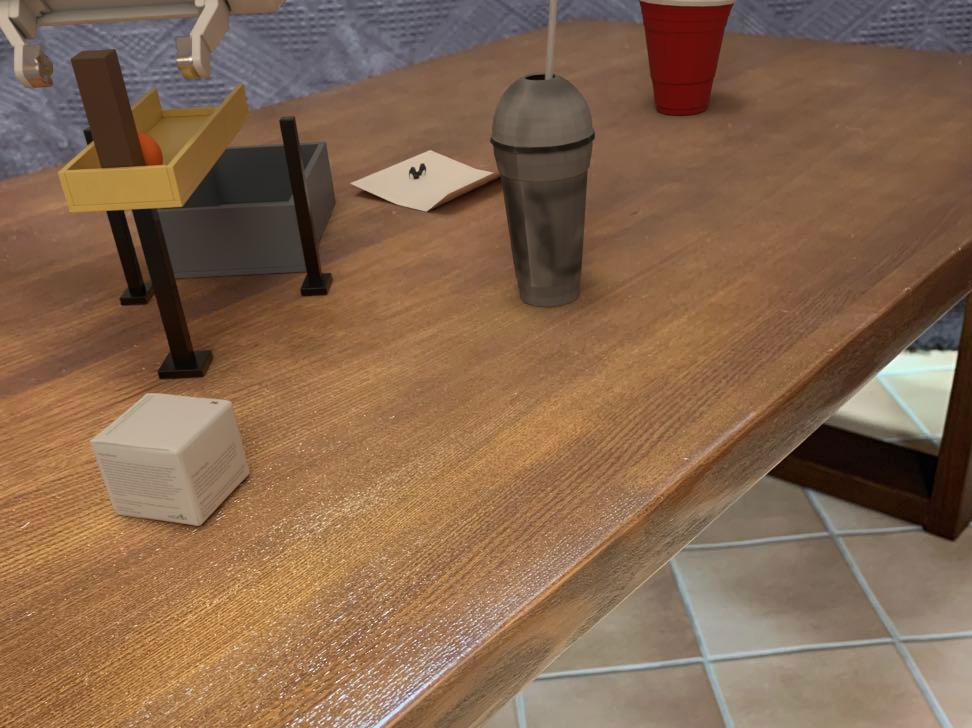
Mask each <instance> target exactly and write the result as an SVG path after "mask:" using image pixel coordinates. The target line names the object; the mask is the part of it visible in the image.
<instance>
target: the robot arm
mask: <svg viewBox="0 0 972 728" xmlns="http://www.w3.org/2000/svg"><path fill="white" fill-rule="evenodd" d="M286 1H287V0H0V30H1V31H2V32H3V34H4V35H5V37H6V40H8V42H9V44H10V45H11V47H12V48H13V72H14V75H15V78H16V79H17V80H18V81H19V82H20V84H21V85H22V86H23V87H24V89H38V88H39V89H41V88H51V87H53V85H54V81H53V78H52V75H54V63H53V61H52V60H51V59H50V57H49V56H47V55H45V51H44V50H43V48H42V47H41V45H39V44H33V45H30V44H29V43H28V41H33V40H35V39H36V38H37V28H39V27H40V28H41V27H53V26H54V27H55V26H57V27H58V26H69V25H70V26H71V25H72V26H73V25H88V24H105V23H106V24H107V23H121V22H123V23H124V22H137V21H139V22H140V21H154V20H171V19H187V18H197V21H196V22H195V24H194V26H193V28H192V30H191V31H190V33H189V35H183V36H182V35H181V36H175V49H176V51H177V52H176V53H175V64H176V68H177V69H178V71H179V72H180V73H181V74H182V78H183V79H184V80H193V79H194V80H195V79H210V77H211V54H213V53H214V52H215V51H216V48H217V47H218V46H219V44H220V42H221V41H222V39H223V38H224V36H225V35H226V34H227V32H228V31H229V29H230V16H236V15H237V16H238V15H255V14H256V15H257V14H273V13H275V12H278V10H279V9H280V8H281V7H282V6H283V5H284V3H285V2H286ZM27 40H28V41H27Z"/></svg>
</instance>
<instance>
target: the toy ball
mask: <svg viewBox="0 0 972 728" xmlns="http://www.w3.org/2000/svg"><path fill="white" fill-rule="evenodd" d="M137 133H138V137H139V141H140V145H141V149H142V152H143V156H144V160H145V164H146V166H156V165H163V155H162V151H161V149H160V147H159V145H158V144H157V142H156V141H155V140H154V139H153V138H152V137H150V136H149V135H147V134H145V133H142V132H138V131H137Z"/></svg>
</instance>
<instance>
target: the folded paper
mask: <svg viewBox="0 0 972 728" xmlns="http://www.w3.org/2000/svg"><path fill="white" fill-rule="evenodd" d="M499 178H501V175H500V172H499V170H497V171H495V172H492V171H487V170H482V169H477V168H475V167H472V166H470V165H467V164H465V163H462V162H460V161H458V160H455V159H453V158H451V157H448V156H446V155H443V154H441V153H439V152H436V151H433V150H431V149H429V150H427V151H424V152H422V153H420V154H417V155H414V156H413V157H410V158H407V159H405V160H403V161H400V162H398V163H395V164H393V165H391V166H388V167H386V168H384V169H383V168H382V169H381V170H379V171H376V172H373V173H371V174H369V175H367V176H364V177H362V178H359V179H357V180H354V181H352V182H349V184H350V185H353V186H354V187H356V188H359V189H362V190H363V191H366V192H368V193H370V194H372V195H375V196H377V197H379V198H381V199H384V200H386V201H387V202H390V203H393V204H395V205H398V206H401V207H405V208H409V209H414V210H417V211H418V210H419V211H421V212H422V211H423V212H425V213H426V212H429V211H431V210H433V209H435V208H437V207H439V206H442V205H444V204H446V203H448V202H450V201H452V200H454V199H457V198H459V197H461V196H463V195H465V194H467V193H469V192H471V191H474V190H475V189H477V188H479V187H482V186H485V185H487V184H489V183H490V182H493V181H495V180H497V179H499Z"/></svg>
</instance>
